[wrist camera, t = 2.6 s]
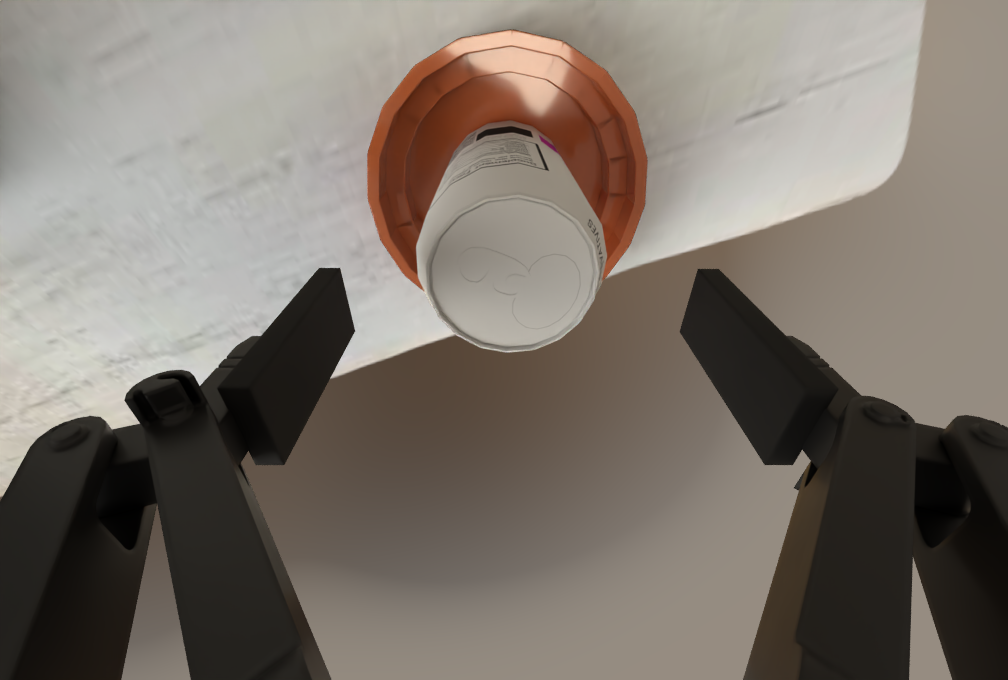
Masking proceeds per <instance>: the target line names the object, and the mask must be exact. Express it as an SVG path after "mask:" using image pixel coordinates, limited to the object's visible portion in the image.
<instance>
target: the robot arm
mask: <svg viewBox="0 0 1008 680" xmlns="http://www.w3.org/2000/svg"><path fill="white" fill-rule="evenodd" d="M354 332H355V329H354V325H353V320H352V316H351V312H350V308H349V304H348V299H347V295H346V291H345V287H344V282H343V278H342V274H341V270H340V268H319V269H318V270H317V271H316V272H315V273H314V275H313V276H312V277H311V278H310V279H309V281H308V282H307V283H306V284H305V285H304V286H303V288H302V289H301V290H300V291H299V292H298V293H297V295H296V296H295V297H294V298H293V299H292V300H291V302H290V303H289V304H288V305H287V306H286V307H285V309H284V310H283V311H282V312H281V313H280V315H279V316H278V317H277V318H276V319H275V320H274V322H273V323H272V324H271V325H270V326H269V327H268V329H267V330H266V331H265V332H264V333H263V334H262V336H252V337H250V338H248V339H247V340H245V341H244V342H242V343H240V344H239V345H237V346H236V347H235V348H234V349H233V350H232V351H231V353H230V354H229V355H228V356H227V359H224V360H223V361H222V362H221V364H220V365H219V368H216V369H215V370H214V371H213V372H212V373H211V375H210V376H209V377H208V378H207V379H206V380H205V381H204V382H203V383H202V384H201V386H199V384H198V382H197V381H196V379H195V377H194V375H192V374H191V373H190V372H189V371H184V370H172V371H166V372H162V373H158V374H155V375H153V376H151V377H148V378H146V379H144V380H142V381H141V382H139V383H138V384H136V385H135V386H133V387H132V388H131V389H130V390H129V392H128V393H127V394H126V397H125V402H126V403H127V405H128V406H129V408H130V409H131V411H132V412H133V414H134V415H135V417H136V418H137V419H138V421H139V422H140V424H137V425H132V426H127V427H122V428H117V429H113V430H112V429H111V428H110V427H109V425H108V424H107V423H106V421H105V420H103V419H102V418H101V417H94V416H88V417H82V418H77V419H74V420H71V421H67V422H64V423H62V424H59V425H58V426H55V427H53V428H52V429H50V430H49V431H47V432H46V433H45V434H43V435H42V436H40V437H39V438H38V439H37V440H36V441H35V442H34V443H33V445H32V446H31V447H30V449H29V450H28V452H27V454H26V456H25V458H24V459H23V461H22V463H21V465H20V467H19V468H18V470H17V472H16V474H15V476H14V477H13V479H12V481H11V483H10V485H9V487H8V488H7V490H6V492H5V494H4V496H3V497H2V499H1V501H0V680H121V678H122V673H123V668H124V663H125V658H126V653H127V648H128V643H129V638H130V633H131V628H132V624H133V618H134V614H135V609H136V604H137V599H138V594H139V589H140V584H141V579H142V574H143V570H144V564H145V559H146V555H147V550H148V545H149V540H150V535H151V530H152V525H153V520H154V515H155V511H156V506H157V504H158V510H159V515H160V520H161V525H162V531H163V536H164V541H165V546H166V552H167V557H168V562H169V567H170V572H171V578H172V583H173V588H174V593H175V599H176V604H177V609H178V614H179V620H180V625H181V630H182V635H183V640H184V646H185V651H186V656H187V661H188V666H189V672H190V677H191V680H331V677H330V675H329V672H328V670H327V668H326V665H325V663H324V660H323V658H322V656H321V653H320V651H319V648H318V646H317V644H316V641H315V639H314V636H313V634H312V632H311V629H310V627H309V624H308V622H307V619H306V617H305V615H304V612H303V610H302V607H301V605H300V602H299V600H298V598H297V595H296V593H295V591H294V588H293V586H292V583H291V581H290V578H289V576H288V574H287V571H286V569H285V567H284V564H283V561H282V559H281V557H280V554H279V552H278V549H277V547H276V545H275V542H274V540H273V537H272V535H271V533H270V530H269V528H268V525H267V523H266V521H265V518H264V516H263V513H262V511H261V509H260V506H259V504H258V501H257V499H256V496H255V494H254V492H253V489H252V487H251V484H250V482H249V480H248V477H247V475H246V473H245V470H244V468H243V466H242V464H241V461H242V460H243V458H244V457H245V455H246V454H247V452H248V451H249V453H250V455H251V456H252V458H253V460H254V462H255V464H256V465H284V464H285V462H286V460H287V459H288V457H289V455H290V453H291V451H292V449H293V447H294V445H295V444H296V442H297V440H298V438H299V436H300V434H301V432H302V430H303V428H304V426H305V425H306V423H307V421H308V419H309V417H310V415H311V413H312V411H313V410H314V408H315V406H316V404H317V402H318V400H319V398H320V396H321V394H322V393H323V391H324V389H325V387H326V385H327V383H328V381H329V379H330V377H331V376H332V374H333V372H334V370H335V368H336V366H337V364H338V362H339V360H340V359H341V357H342V355H343V353H344V351H345V349H346V347H347V345H348V343H349V342H350V340H351V338H352V336H353V334H354ZM680 333H681V334H682V336H683V338H684V339H685V341H686V342H687V344H688V345H689V347H690V349H691V350H692V352H693V353H694V355H695V356H696V358H697V359H698V361H699V363H700V364H701V366H702V367H703V369H704V370H705V372H706V374H707V375H708V377H709V378H710V380H711V381H712V383H713V385H714V386H715V388H716V389H717V391H718V392H719V394H720V396H721V397H722V399H723V400H724V402H725V403H726V405H727V406H728V408H729V410H730V411H731V413H732V414H733V416H734V417H735V419H736V420H737V422H738V424H739V425H740V427H741V428H742V430H743V432H744V433H745V435H746V436H747V437H748V439H749V441H750V442H751V444H752V445H753V447H754V449H755V450H756V452H757V453H758V455H759V456H760V458H761V459H762V461H763V463H764V464H765V465H793V464H794V462H795V460H796V459H797V457H798V455H799V454H800V452H801V450H803V451H804V452H805V454H806V455H807V456H808V457H809V459H810V460H811V462H810V463H809V465H808V466H807V468H806V470H805V471H804V473H803V474H802V476H801V477H800V479H799V481H798V482H797V484H796V485H795V487H794V488H795V489H797V490H799V493H798V496H797V500H796V503H795V507H794V509H793V513H792V516H791V520H790V523H789V526H788V530H787V533H786V537H785V540H784V543H783V547H782V550H781V553H780V557H779V560H778V564H777V567H776V571H775V574H774V577H773V581H772V584H771V587H770V590H769V594H768V597H767V601H766V604H765V607H764V611H763V614H762V617H761V621H760V624H759V628H758V631H757V635H756V638H755V641H754V645H753V648H752V651H751V655H750V658H749V662H748V665H747V668H746V672H745V675H744V678H743V680H909V662H910V660H909V659H910V628H911V626H910V625H911V596H912V595H911V594H912V563H913V558H914V561H915V564H916V567H917V570H918V573H919V576H920V579H921V583H922V586H923V589H924V592H925V595H926V598H927V601H928V604H929V608H930V611H931V614H932V617H933V620H934V623H935V627H936V630H937V633H938V636H939V639H940V642H941V645H942V649H943V652H944V655H945V658H946V661H947V664H948V667H949V671H950V673H951V677H952V680H1008V428H1007V427H1005V426H1004V425H1000V424H999V423H997V422H994V421H990V420H987V419H983V418H980V417H975V416H969V415H964V416H957V417H956V418H955V419H954V420H953V421H952V422H951V423H950V424H949V425H948V426H947V428H946V429H942V428H938V427H932V426H928V425H923V424H918V423H915V421H914V419H913V418H912V417H911V416H910V415H909V414H908V413H907V412H905V411H904V410H902V409H901V408H899V407H898V406H896V405H894V404H892V403H890V402H887V401H885V400H882V399H879V398H875V397H871V396H861V395H860V394H859V393H858V392H857V391H856V390H855V389H854V388H853V387H852V386H851V385H850V384H848V383H847V382H846V381H845V380H844V379H843V378H842V377H841V376H840V375H839V374H838V373H837V372H836V371H835V370H834V369H833V368H830V367H829V364H828V363H826V362H825V361H824V360H823V359H820V356H819V355H818V354H817V353H816V352H815V351H814V350H813V349H812V348H811V347H810V346H809V345H807V344H805V343H803V342H802V341H800V340H798V339H796V338H795V337H793V336H786V335H784V333H783V332H781V331H780V330H779V329H778V328H777V327H776V326H775V325H774V324H773V323H772V322H771V321H770V320H769V319H768V318H767V317H766V316H765V315H764V314H763V313H762V312H761V311H760V310H759V309H758V308H757V307H756V306H755V305H754V304H753V303H752V302H751V301H750V300H749V299H748V298H747V297H746V296H745V295H744V294H743V293H742V292H741V291H740V290H739V289H738V288H737V287H736V286H735V285H734V284H733V283H732V282H731V281H730V280H729V279H728V278H727V277H726V276H725V275H724V274H723V273H722V272H721V271H720V270H719V269H698V271H697V274H696V277H695V281H694V284H693V288H692V292H691V295H690V298H689V301H688V305H687V308H686V312H685V315H684V319H683V322H682V326H681V329H680Z"/></svg>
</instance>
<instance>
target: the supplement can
mask: <svg viewBox="0 0 1008 680" xmlns="http://www.w3.org/2000/svg"><path fill="white" fill-rule="evenodd" d="M416 254H417V270H418V279H419V281H420V283H421V285H422V287H423V289H424V292H425V294H426V296H427V298H428V300H429V302H430V305H431V306H432V307H433V308H434V309H435V311H436V313H437V315H438V317H439V318H440V319H441V320H442V321H443V322H444V323H445V324H446V325H447V326H448V327H449V328H450V329H451V330H452V331H453V332H454V333H455V334H456V335H457V336H459V337H461V338H462V339H465V340H466V341H468V342H470V343H472V344H474V345H476V346H478V347H480V348H485V349H490V350H495V351H501V352H506V353H509V352H518V351H527V350H535V349H537V348H540V347H542V346H545V345H547V344H550V343H552V342H555V341H557V340H559V339H560V338H562V337H563V336H564V335H565V334H566V333H568V332H569V331H570V330H571V329H573V328H574V327H575V326H576V325H578V324H579V323H580V322H581V320H582V318H583V317H584V315H585V314H586V312H587V310H588V309H589V307H590V306H591V304H592V303H593V301H594V298H595V295H596V293H597V291H598V290H599V288H600V287H601V283H602V278H603V273H604V269H605V264H606V259H607V252H606V246H605V240H604V234H603V228H602V224H601V222H600V221H599V219H598V217H597V216H596V214H595V212H594V211H593V209H592V207H591V206H590V204H589V202H588V201H587V199H586V197H585V196H584V194H583V192H582V191H581V189H580V187H579V186H578V184H577V182H576V181H575V179H574V177H573V176H572V174H571V172H570V171H569V169H568V167H567V166H566V164H565V162H564V161H563V159H562V157H561V156H560V154H559V153H558V151H557V149H556V148H555V146H554V145H553V143H552V141H551V140H550V139H549V138H548V137H546V136H545V135H544V134H542V133H541V132H540V131H538V130H537V129H536V128H534V127H533V126H530V125H526V124H522V123H519V122H515V121H511V120H509V121H502V122H494V123H488V124H486V125H484V126H482V127H481V128H479V129H477V130H475V131H474V132H472V133H470V134H468V135H467V137H466V138H465V139H464V140H463V141H462V143H461V144H460V145H459V146H458V148H457V149H456V150H455V151H454V153H453V155H452V157H451V160H450V162H449V164H448V167H447V169H446V171H445V173H444V176H443V178H442V180H441V183H440V185H439V187H438V190H437V192H436V194H435V196H434V199H433V201H432V203H431V206H430V208H429V210H428V212H427V215H426V218H425V221H424V224H423V227H422V230H421V233H420V236H419V239H418V242H417V245H416Z"/></svg>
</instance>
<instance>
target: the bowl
mask: <svg viewBox="0 0 1008 680" xmlns="http://www.w3.org/2000/svg"><path fill="white" fill-rule="evenodd" d="M509 120H511V121H515V122H519V123H522V124H526V125H530V126H533V127H534V128H536V129H537V130H538V131H540V132H541V133H542V134H544V135H545V136H546V137H548V138H549V139H550V140H551V141H552V143H553V145H554V146H555V148H556V149H557V151H558V153H559V154H560V156H561V157H562V159H563V161H564V162H565V164H566V166H567V167H568V169H569V171H570V172H571V174H572V176H573V177H574V179H575V181H576V182H577V184H578V186H579V187H580V189H581V191H582V192H583V194H584V196H585V197H586V199H587V201H588V202H589V204H590V206H591V207H592V209H593V211H594V212H595V214H596V216H597V217H598V219H599V221H600V222H601V224H602V228H603V234H604V240H605V246H606V252H607V259H606V264H605V269H604V273H603V278H602V280H604V279H605V277H607V275H608V274H609V273H610V271H611V270H612V269H613V267H614V266H615V265H616V263H617V262H618V261H619V259H620V258H621V257H622V255H623V254H624V252H625V251H626V250H627V248H628V247H629V245H630V244H631V241H632V239H633V236H634V233H635V231H636V228H637V225H638V222H639V220H640V217H641V214H642V212H643V209H644V206H645V196H646V179H647V161H648V160H647V155H646V151H645V147H644V144H643V140H642V136H641V132H640V129H639V125H638V121H637V117H636V114H635V111H634V110H633V108H632V107H631V105H630V104H629V103H628V101H627V100H626V98H625V97H624V95H623V94H622V92H621V91H620V89H619V88H618V86H617V85H616V84H615V82H614V81H613V79H612V78H611V76H610V75H609V73H608V72H607V71H606V70H605V69H604V68H602V67H601V66H599V65H598V64H596V63H595V62H593V61H592V60H591V59H589V58H588V57H586V56H585V55H583V54H582V53H580V52H579V51H578V50H576V49H575V48H573V47H572V46H570V45H569V44H567V43H566V42H563V41H562V40H558V39H553V38H549V37H544V36H540V35H536V34H531V33H527V32H522V31H518V30H514V29H513V30H511V29H510V30H504V31H498V32H492V33H486V34H480V35H474V36H468V37H462V38H460V39H457V40H455V41H454V42H452V43H450V44H449V45H447V46H445V47H444V48H442V49H440V50H439V51H437V52H436V53H434V54H432V55H431V56H429V57H427V58H426V59H424V60H422V61H421V62H419V63H418V64H416V65H415V66H414V67H413V68H412V69H411V70H410V72H409V73H408V74H407V75H406V77H405V78H404V79H403V81H402V82H401V83H400V85H399V86H398V87H397V88H396V90H395V91H394V92H393V94H392V95H391V96H390V97H389V99H388V100H387V101H386V103H385V104H384V105H383V107H382V110H381V113H380V116H379V119H378V122H377V125H376V128H375V131H374V134H373V137H372V140H371V143H370V147H369V150H368V154H367V196H368V202H369V205H370V209H371V212H372V215H373V218H374V221H375V224H376V227H377V231H378V234H379V237H380V240H381V241H382V243H383V245H384V246H385V248H386V249H387V251H388V252H389V254H390V255H391V256H392V258H393V259H394V261H395V262H396V264H397V265H398V267H399V268H400V270H401V271H402V273H403V274H404V275H405V276H406V277H407V278H408V279H410V280H411V281H412V282H413V283H414V284H416V285H417V286H418V287H419V288H420V289H422V290H423V291H424V289H423V287H422V285H421V283H420V281H419V279H418V270H417V254H416V245H417V242H418V239H419V236H420V233H421V230H422V227H423V224H424V221H425V218H426V215H427V212H428V210H429V208H430V206H431V203H432V201H433V199H434V196H435V194H436V192H437V190H438V187H439V185H440V183H441V180H442V178H443V176H444V173H445V171H446V169H447V167H448V164H449V162H450V160H451V157H452V155H453V153H454V151H455V150H456V149H457V148H458V146H459V145H460V144H461V143H462V141H463V140H464V139H465V138H466V137H467V135H468V134H470V133H472V132H474V131H475V130H477V129H479V128H481V127H482V126H484V125H486V124H488V123H494V122H502V121H509Z"/></svg>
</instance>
